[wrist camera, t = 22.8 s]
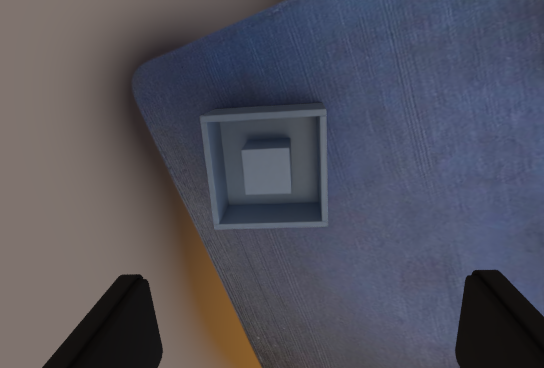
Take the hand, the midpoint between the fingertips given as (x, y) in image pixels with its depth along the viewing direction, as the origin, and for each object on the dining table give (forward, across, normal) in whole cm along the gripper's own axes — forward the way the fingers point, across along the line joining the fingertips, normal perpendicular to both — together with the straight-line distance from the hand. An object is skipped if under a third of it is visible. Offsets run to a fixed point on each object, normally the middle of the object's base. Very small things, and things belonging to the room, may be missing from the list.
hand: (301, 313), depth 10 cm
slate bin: (+27, +3, +2) cm, 27 cm away
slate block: (+27, +3, +2) cm, 27 cm away
